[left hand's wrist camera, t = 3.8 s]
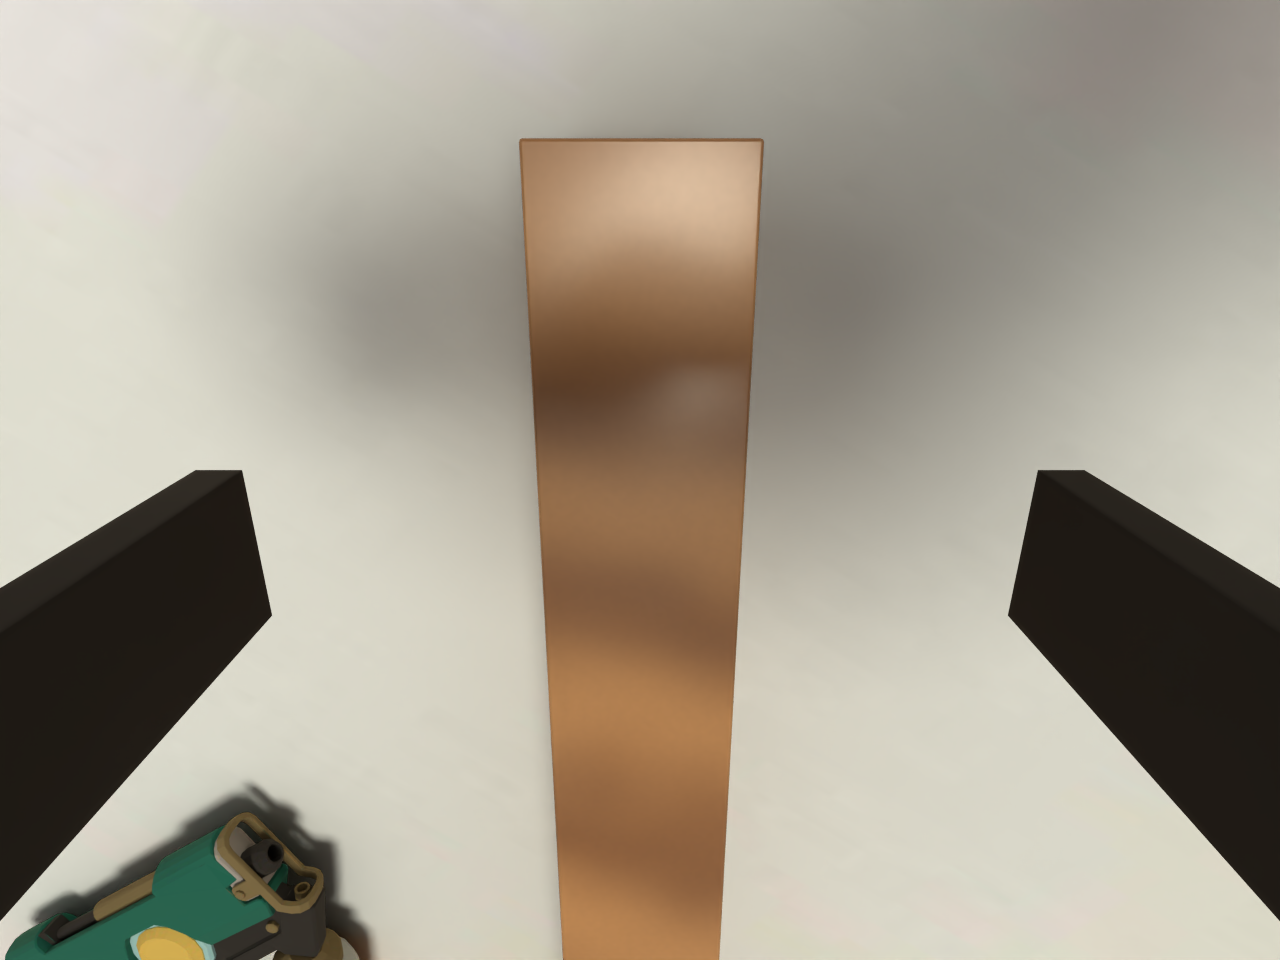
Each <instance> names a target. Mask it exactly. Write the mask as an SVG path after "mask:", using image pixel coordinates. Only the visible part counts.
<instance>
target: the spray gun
mask: <svg viewBox="0 0 1280 960" xmlns="http://www.w3.org/2000/svg"><path fill="white" fill-rule="evenodd" d="M239 822H244V823H246V824H247V825H248V826H249V827H250V828H251V829H252V830H253V831H254V832H255V833H256V834H257V835H258V836H259V837H260V838H261V839H262V841H260V842H258V843H256V844H255V843H254V841H253V840H252V839H251V838H250V837H249V836H248V835H247V834H246V833H245V832H244V831H243V830H242V829H241V828H239V827H236V826H237V825H238V824H239ZM282 861H284V862H285V863H286V864H287V865H288V866H289V867H290V868H291V869H292V870H293V871H294V872H295V873H296V874H297V875H299V876H305V877H311V878H313V879H315V880H316V882H315V884H314V886H310V884H309V883H308V882H301V883H299V884H295V885H292V886H289V885H287V877H288V866H287V865H286V864H285V863H282ZM323 884H324V879H323V874H322V872H321V870H320V869H317V868H315V867H310V866H304V865H303V864H302V863H301V861H300V860H299V859H298V858H297V857H296V856H295V855H294V854H293V853H292V852H291V851H290V850H289V849H288V848H287V847H286V846H285V845H284V844H283V843H282V842H281V841H280V840H279V839H278V838H277V837H276V836H275V835H274V834H273V833H272V832H271V831H270V830H269V829H268V828H267V827H266V826H265V825H264V824H263V823H262V822H261V821H260V820H259V819H258V818H257V817H256V816H255V815H253V814H252V813H250V812H246V813H241V814H239V815H237V816H235V817H234V818H232V819H231V820H230V821H229V822H228V823H227V824H226V825H224V826H222V827H220V828H218V829H216V830H214V831H212V832H210V833H208V834H206V835H205V836H203V837H201V838H199V839H197V840H195V841H194V842H192V843H190V844H188V845H186V846H184V847H182V848H181V849H179V850H177V851H175V852H173V853H171V854H169V855H168V856H166V857H165V858H163V859H162V860H161V861H160V863H159V865H158V866H157V869H156V871H154V872H152V873H150V874H148V875H146V876H144V877H142V878H141V879H139V880H137V881H135V882H133V883H131V884H129V885H128V886H126V887H124V888H122V889H120V890H118V891H116V892H114V893H113V894H111V895H109V896H107V897H105V898H103V899H101V900H100V901H99V902H97V903H96V905H95V907H94V909H92V910H90V911H89V912H87V913H85V914H83V915H81V916H79V917H76V916H75V915H72V914H69V913H61V914H57V915H55V916H53V917H51V918H49V919H47V920H46V921H44V922H42V923H40V924H38V925H36V926H34V927H33V928H31V929H29V930H27V931H26V932H24V933H23V934H21V935H20V936H19V937H18V938H16V939H15V941H14V942H13V943H12V945H11V946H10V948H9V950H8V951H7V953H6V956H5V960H259V959H261V958H263V957H265V956H266V955H268V954H270V953H272V952H274V951H276V950H277V951H276V953H275V955H274V958H273V960H359V956H358V955H357V953H356V952H355V950H354V948H353V947H352V946H351V945H350V944H349V943H348V942H347V941H346V940H345V939H344V938H342V937H339V936H338V934H337V933H336V932H335V931H334V930H331V929H328V928H326V914H325V888H324V887H323Z"/></svg>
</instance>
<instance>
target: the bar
mask: <svg viewBox="0 0 1280 960" xmlns="http://www.w3.org/2000/svg"><path fill="white" fill-rule="evenodd" d="M519 150H520V169H521V187H522V206H523V225H524V243H525V262H526V280H527V299H528V318H529V336H530V355H531V373H532V392H533V410H534V429H535V448H536V466H537V485H538V503H539V522H540V541H541V559H542V578H543V596H544V615H545V634H546V652H547V671H548V689H549V708H550V726H551V745H552V764H553V782H554V801H555V819H556V838H557V857H558V875H559V894H560V912H561V931H562V949H563V960H719V954H720V936H721V917H722V899H723V881H724V862H725V844H726V826H727V808H728V789H729V771H730V753H731V735H732V716H733V698H734V680H735V661H736V643H737V625H738V607H739V588H740V570H741V552H742V534H743V515H744V497H745V479H746V460H747V442H748V424H749V406H750V387H751V369H752V351H753V333H754V314H755V296H756V278H757V259H758V241H759V223H760V205H761V186H762V168H763V150H764V141H763V139H761V138H522V139H520V141H519Z"/></svg>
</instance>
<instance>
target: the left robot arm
mask: <svg viewBox="0 0 1280 960" xmlns="http://www.w3.org/2000/svg"><path fill="white" fill-rule="evenodd" d="M271 616H272V613H271V608H270V603H269V599H268V594H267V589H266V584H265V579H264V574H263V570H262V565H261V560H260V555H259V550H258V545H257V540H256V536H255V531H254V526H253V521H252V516H251V511H250V507H249V502H248V497H247V492H246V487H245V482H244V478H243V473H242V470H195V471H194V472H192V473H190V474H189V475H187V476H185V477H184V478H182V479H180V480H179V481H177V482H175V483H174V484H172V485H170V486H169V487H167V488H165V489H164V490H162V491H160V492H159V493H157V494H155V495H154V496H152V497H150V498H149V499H147V500H145V501H144V502H142V503H141V504H139V505H137V506H136V507H134V508H132V509H131V510H129V511H127V512H126V513H124V514H122V515H121V516H119V517H117V518H116V519H114V520H112V521H111V522H109V523H107V524H106V525H104V526H102V527H101V528H99V529H97V530H96V531H94V532H93V533H91V534H89V535H88V536H86V537H84V538H83V539H81V540H79V541H78V542H76V543H74V544H73V545H71V546H69V547H68V548H66V549H64V550H63V551H61V552H59V553H58V554H56V555H54V556H53V557H51V558H49V559H48V560H46V561H44V562H43V563H41V564H40V565H38V566H36V567H35V568H33V569H31V570H30V571H28V572H26V573H25V574H23V575H21V576H20V577H18V578H16V579H15V580H13V581H11V582H10V583H8V584H6V585H5V586H3V587H1V588H0V921H1V919H2V918H3V917H4V916H5V915H6V914H7V913H8V912H9V910H10V909H11V908H12V907H13V906H14V905H15V904H16V903H17V902H18V900H19V899H20V898H21V897H22V896H23V895H24V894H25V893H26V891H27V890H28V889H29V888H30V887H31V886H32V885H33V884H34V882H35V881H36V880H37V879H38V878H39V877H40V876H41V875H42V873H43V872H44V871H45V870H46V869H47V868H48V867H49V866H50V864H51V863H52V862H53V861H54V860H55V859H56V858H57V857H58V855H59V854H60V853H61V852H62V851H63V850H64V849H65V848H66V846H67V845H68V844H69V843H70V842H71V841H72V840H73V839H74V837H75V836H76V835H77V834H78V833H79V832H80V831H81V830H82V828H83V827H84V826H85V825H86V824H87V823H88V822H89V821H90V819H91V818H92V817H93V816H94V815H95V814H96V813H97V812H98V810H99V809H100V808H101V807H102V806H103V805H104V804H105V803H106V801H107V800H108V799H109V798H110V797H111V796H112V795H113V794H114V792H115V791H116V790H117V789H118V788H119V787H120V786H121V785H122V784H123V782H124V781H125V780H126V779H127V778H128V777H129V776H130V775H131V773H132V772H133V771H134V770H135V769H136V768H137V767H138V766H139V764H140V763H141V762H142V761H143V760H144V759H145V758H146V757H147V755H148V754H149V753H150V752H151V751H152V750H153V749H154V748H155V746H156V745H157V744H158V743H159V742H160V741H161V740H162V739H163V737H164V736H165V735H166V734H167V733H168V732H169V731H170V730H171V728H172V727H173V726H174V725H175V724H176V723H177V722H178V721H179V719H180V718H181V717H182V716H183V715H184V714H185V713H186V712H187V710H188V709H189V708H190V707H191V706H192V705H193V704H194V703H195V701H196V700H197V699H198V698H199V697H200V696H201V695H202V694H203V692H204V691H205V690H206V689H207V688H208V687H209V686H210V685H211V683H212V682H213V681H214V680H215V679H216V678H217V677H218V676H219V674H220V673H221V672H222V671H223V670H224V669H225V668H226V667H227V665H228V664H229V663H230V662H231V661H232V660H233V659H234V658H235V657H236V655H237V654H238V653H239V652H240V651H241V650H242V649H243V648H244V646H245V645H246V644H247V643H248V642H249V641H250V640H251V639H252V637H253V636H254V635H255V634H256V633H257V632H258V631H259V630H260V628H261V627H262V626H263V625H264V624H265V623H266V622H267V621H268V619H269V618H270V617H271ZM1008 616H1009V617H1010V618H1011V619H1012V621H1013V622H1014V623H1015V624H1016V625H1017V626H1018V627H1019V628H1020V630H1021V631H1022V632H1023V633H1024V634H1025V635H1026V636H1027V637H1028V639H1029V640H1030V641H1031V642H1032V643H1033V644H1034V645H1035V646H1036V648H1037V649H1038V650H1039V651H1040V652H1041V653H1042V654H1043V655H1044V657H1045V658H1046V659H1047V660H1048V661H1049V662H1050V663H1051V664H1052V665H1053V667H1054V668H1055V669H1056V670H1057V671H1058V672H1059V673H1060V674H1061V676H1062V677H1063V678H1064V679H1065V680H1066V681H1067V682H1068V683H1069V685H1070V686H1071V687H1072V688H1073V689H1074V690H1075V691H1076V692H1077V694H1078V695H1079V696H1080V697H1081V698H1082V699H1083V700H1084V701H1085V703H1086V704H1087V705H1088V706H1089V707H1090V708H1091V709H1092V710H1093V712H1094V713H1095V714H1096V715H1097V716H1098V717H1099V718H1100V719H1101V721H1102V722H1103V723H1104V724H1105V725H1106V726H1107V727H1108V728H1109V730H1110V731H1111V732H1112V733H1113V734H1114V735H1115V736H1116V737H1117V739H1118V740H1119V741H1120V742H1121V743H1122V744H1123V745H1124V746H1125V748H1126V749H1127V750H1128V751H1129V752H1130V753H1131V754H1132V755H1133V757H1134V758H1135V759H1136V760H1137V761H1138V762H1139V763H1140V764H1141V766H1142V767H1143V768H1144V769H1145V770H1146V771H1147V772H1148V773H1149V775H1150V776H1151V777H1152V778H1153V779H1154V780H1155V781H1156V782H1157V784H1158V785H1159V786H1160V787H1161V788H1162V789H1163V790H1164V791H1165V792H1166V794H1167V795H1168V796H1169V797H1170V798H1171V799H1172V800H1173V801H1174V803H1175V804H1176V805H1177V806H1178V807H1179V808H1180V809H1181V810H1182V812H1183V813H1184V814H1185V815H1186V816H1187V817H1188V818H1189V819H1190V821H1191V822H1192V823H1193V824H1194V825H1195V826H1196V827H1197V828H1198V830H1199V831H1200V832H1201V833H1202V834H1203V835H1204V836H1205V837H1206V839H1207V840H1208V841H1209V842H1210V843H1211V844H1212V845H1213V846H1214V848H1215V849H1216V850H1217V851H1218V852H1219V853H1220V854H1221V855H1222V857H1223V858H1224V859H1225V860H1226V861H1227V862H1228V863H1229V864H1230V866H1231V867H1232V868H1233V869H1234V870H1235V871H1236V872H1237V873H1238V875H1239V876H1240V877H1241V878H1242V879H1243V880H1244V881H1245V882H1246V884H1247V885H1248V886H1249V887H1250V888H1251V889H1252V890H1253V891H1254V893H1255V894H1256V895H1257V896H1258V897H1259V898H1260V899H1261V900H1262V902H1263V903H1264V904H1265V905H1266V906H1267V907H1268V908H1269V909H1270V910H1271V912H1272V913H1273V914H1274V915H1275V916H1276V917H1277V918H1278V919H1279V921H1280V588H1279V587H1277V586H1275V585H1274V584H1272V583H1270V582H1269V581H1267V580H1265V579H1264V578H1262V577H1260V576H1259V575H1257V574H1255V573H1254V572H1252V571H1250V570H1249V569H1247V568H1245V567H1244V566H1242V565H1240V564H1239V563H1237V562H1236V561H1234V560H1232V559H1231V558H1229V557H1227V556H1226V555H1224V554H1222V553H1221V552H1219V551H1217V550H1216V549H1214V548H1212V547H1211V546H1209V545H1207V544H1206V543H1204V542H1202V541H1201V540H1199V539H1197V538H1196V537H1194V536H1192V535H1191V534H1189V533H1187V532H1186V531H1184V530H1183V529H1181V528H1179V527H1178V526H1176V525H1174V524H1173V523H1171V522H1169V521H1168V520H1166V519H1164V518H1163V517H1161V516H1159V515H1158V514H1156V513H1154V512H1153V511H1151V510H1149V509H1148V508H1146V507H1144V506H1143V505H1141V504H1139V503H1138V502H1136V501H1135V500H1133V499H1131V498H1130V497H1128V496H1126V495H1125V494H1123V493H1121V492H1120V491H1118V490H1116V489H1115V488H1113V487H1111V486H1110V485H1108V484H1106V483H1105V482H1103V481H1101V480H1100V479H1098V478H1096V477H1095V476H1093V475H1091V474H1090V473H1088V472H1086V471H1085V470H1038V473H1037V478H1036V482H1035V487H1034V492H1033V497H1032V502H1031V507H1030V511H1029V516H1028V521H1027V526H1026V531H1025V536H1024V540H1023V545H1022V550H1021V555H1020V560H1019V565H1018V570H1017V574H1016V579H1015V584H1014V589H1013V594H1012V599H1011V603H1010V608H1009V613H1008Z"/></svg>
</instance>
